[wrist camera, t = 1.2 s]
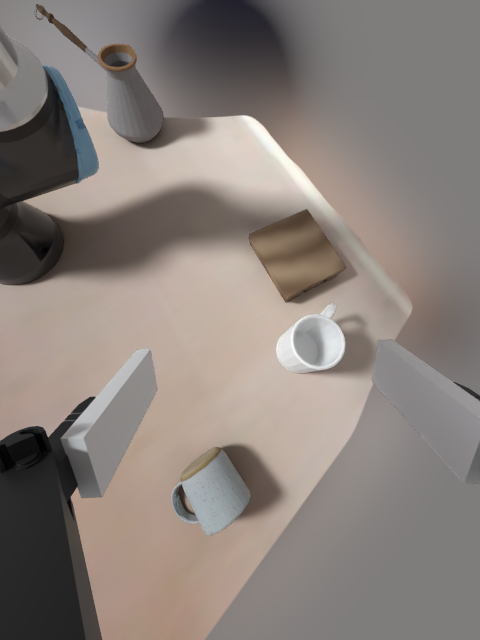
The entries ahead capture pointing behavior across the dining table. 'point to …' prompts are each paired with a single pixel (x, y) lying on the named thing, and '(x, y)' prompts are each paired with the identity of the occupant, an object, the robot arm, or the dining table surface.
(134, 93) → the coffee pot
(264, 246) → the dock
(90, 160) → the robot arm
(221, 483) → the ceramic mug
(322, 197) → the dining table surface
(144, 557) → the dining table surface
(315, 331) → the mug
